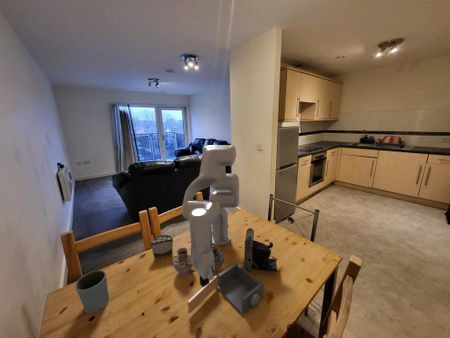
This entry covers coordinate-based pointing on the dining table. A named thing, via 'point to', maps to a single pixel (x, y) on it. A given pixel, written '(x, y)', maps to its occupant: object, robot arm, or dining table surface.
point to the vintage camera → (257, 254)
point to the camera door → (202, 294)
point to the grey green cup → (93, 291)
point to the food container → (162, 246)
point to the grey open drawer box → (240, 288)
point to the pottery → (184, 260)
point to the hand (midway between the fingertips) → (204, 283)
